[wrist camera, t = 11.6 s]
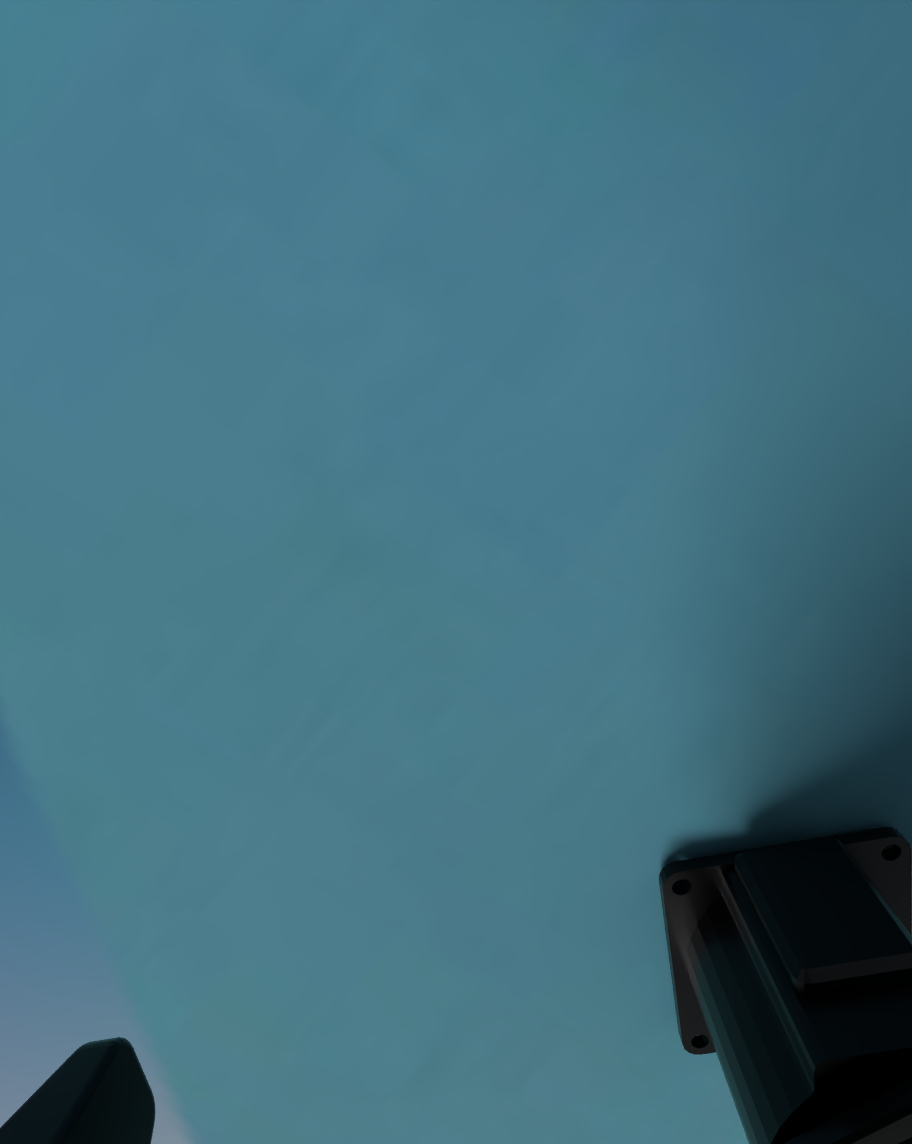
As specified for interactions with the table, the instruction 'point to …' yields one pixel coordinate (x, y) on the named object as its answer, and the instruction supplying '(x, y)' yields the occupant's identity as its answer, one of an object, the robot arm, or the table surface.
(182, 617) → the table surface
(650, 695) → the table surface
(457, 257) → the table surface
